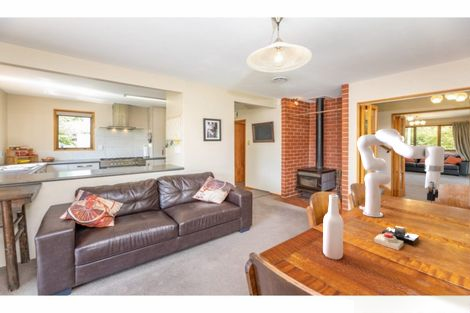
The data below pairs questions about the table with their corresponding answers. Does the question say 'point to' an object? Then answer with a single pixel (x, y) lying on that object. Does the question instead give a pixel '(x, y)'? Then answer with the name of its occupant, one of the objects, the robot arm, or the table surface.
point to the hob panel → (403, 236)
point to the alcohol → (333, 230)
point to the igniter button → (388, 235)
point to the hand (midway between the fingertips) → (432, 199)
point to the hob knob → (400, 230)
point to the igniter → (388, 241)
